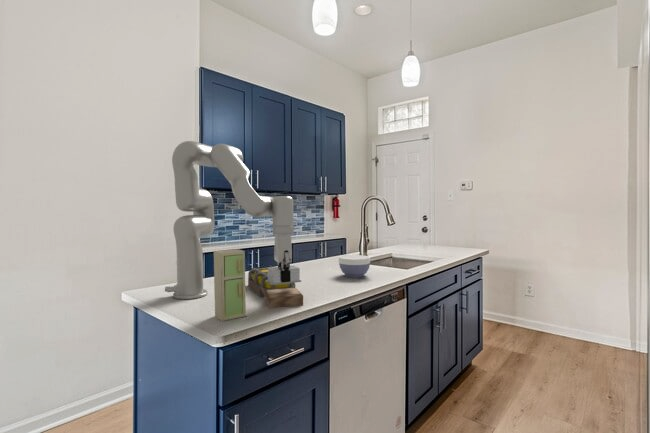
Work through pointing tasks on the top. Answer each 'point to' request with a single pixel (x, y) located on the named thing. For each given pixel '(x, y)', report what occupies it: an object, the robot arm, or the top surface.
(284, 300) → the stand
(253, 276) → the cage light
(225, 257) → the toy refrigerator
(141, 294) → the top surface
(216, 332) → the top surface
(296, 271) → the block
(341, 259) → the bowl
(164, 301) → the top surface
